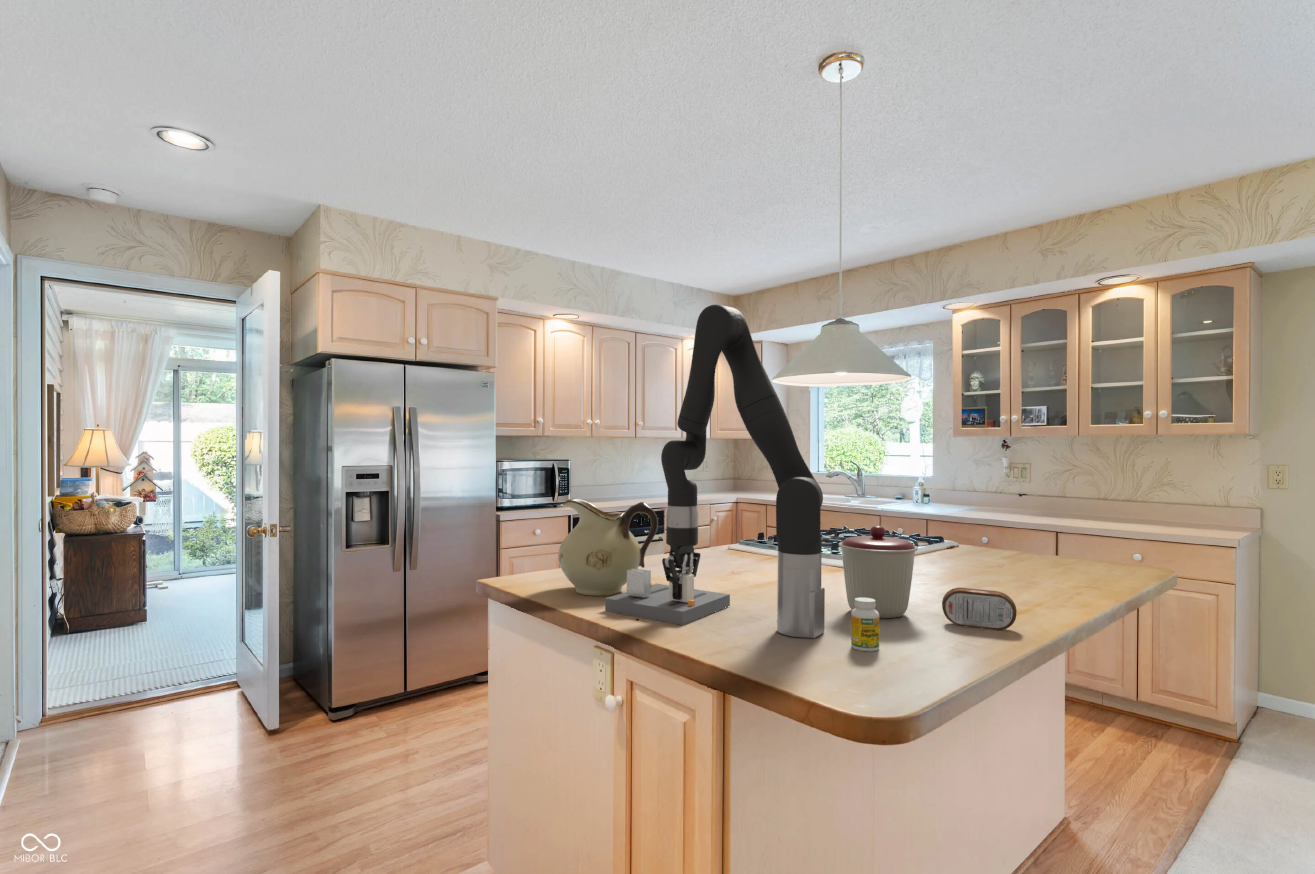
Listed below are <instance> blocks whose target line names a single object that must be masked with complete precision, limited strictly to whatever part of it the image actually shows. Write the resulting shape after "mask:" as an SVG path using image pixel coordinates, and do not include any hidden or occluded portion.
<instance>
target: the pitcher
mask: <svg viewBox="0 0 1315 874" xmlns="http://www.w3.org/2000/svg"><path fill="white" fill-rule="evenodd" d="M562 506H563V507H567V508H570V509H573V510H574V511H576V512H577V514H578V516H579V520H578V523H577V524H576V525H575V526H574V528H573V529H572V530H571V531H570V532H569V533H568V534H567V535H566V536H565V537H564V539H563V540H562V542H561V544H560V546H559V549H558V563H559V567H560V568H561V571H562V574H563V575H564V576H565V577H566V578H567V580H568V581H569V582H570V583H571V584H572V585H573V586H574V587H575V592H576V593H577V594H580V595H584V596H590V597H603V596H607V597H608V596H611V595H612V596H614V595H618V594H620V593H621V592H622V588H623V587H624V586H625V585H627V570H630V569H634V568H635V569H639V567H641V569H643V568H645V555H646V552H647V550H648V548H649V546H650V545H651V542H652V541H653V540H654V538H655V536H656V534H657V531H658V527H659V519H658V515H657V513H656V512H655V511H654V509H653V508H652V507H651V506H649V505H648V504H647V503H645V502H644V501H641V502H638V503H636V504H633V505H631V506H630V507H629V508H627V509H626V510H625V512H623V511H622V512H620V513H619V514H611V513H609V512H606V511H603V510H602V509H600V508H598V507H597V506H595V505H594V504H592V503H591V502H589V501H587V500H583V499H581V498H576V497H575V498H570V499H567V500H566V501H564V502H563V503H562ZM636 514H645V515H647V516H648V518H649V520H650V529H649V532H648V534H647V537H646V538H645V540H644V541H643V543H642V545H641V546H640V544H639V541H638V540H637V538H636V537H635V535H634V534H633V533H632V532H631V530H630V524H631V521H632V518H633V516H635V515H636Z"/></svg>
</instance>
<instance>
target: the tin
mask: <svg viewBox="0 0 1315 874" xmlns="http://www.w3.org/2000/svg"><path fill="white" fill-rule="evenodd" d="M941 608H942V611H943V614H944V616H945V617H946V619H947V621H949V622H950V623H952V624H954V625H956V626H959V627H964V626H967V627H968V628H973V627H974V628H973V629H975V628H976V629H981V628H983V629H984V630H990V629H991V630H992V631H1003V630H1007V629H1008V628H1010V627H1011V626H1013V624H1014V623H1015V621H1016V620H1017V619H1016V618H1017V606H1016V603H1015V602H1014V600H1013V599H1012V598H1011V597H1010V596H1009V595H1007V593H1004V592H1002V591H998V590H988V589H979V588H970V587H969V588H968V587H954V588H952V589H951V588H950V589H949V590H948V591H946V592H945V594H944V595H943V598H942V601H941ZM967 627H966V628H967ZM983 629H982V630H983Z"/></svg>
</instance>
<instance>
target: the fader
mask: <svg viewBox="0 0 1315 874" xmlns="http://www.w3.org/2000/svg"><path fill="white" fill-rule="evenodd" d="M670 576H671V574H670ZM677 577H678V573H677ZM681 584H682V599H681V600H676V599H673V596H672V593H673V592H672V583H671V582H670V581H668V585H669V600H675V601H681V602H688V600H694V589H695V577H694V575H693V574H685V573H684V574H683V578H682V583H681Z"/></svg>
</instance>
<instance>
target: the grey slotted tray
mask: <svg viewBox="0 0 1315 874" xmlns="http://www.w3.org/2000/svg"><path fill="white" fill-rule="evenodd" d="M604 604H605V605H604V606H605V610H604V611H605V612H608V613H615V614H616V613H617V614H620V615H625V616H630V617H631V616H632V617H637V618H641V617H642V618H643V619H646V620H647V619H648V620H652V619H653V620H654V621H658V622H663V621H666V622H665V623H668V622H670V623H669V624H674V623H675V624H674V625H679V624H680V626H684V624H685V625H688V624H689V623H692V622H694V621H697V620H699V618H700V619H702V618H705V617H707V616H710V615H712V614H714V613H713V612H715V611H717V612H719V610H720V611H722V610H724V609H723V608H725V607H727V608H729V607H728V606H730V607H731V594H729V593H722V592H716V591H710V590H704V589H696V588H694V600H688V602H681V601H675V600H669V584H662V583H654V584H653V583H652V582H651V596H647V597H644V598H642V597H636V596H630V595H627V591H626V592H623V593H618V594H614V595H612V596H609V597H608V596H607V597H605V603H604ZM721 609H722V610H721ZM725 609H726V608H725ZM711 613H712V614H711ZM715 613H716V612H715ZM709 614H710V615H709ZM704 616H705V617H704ZM642 618H641V619H642ZM687 623H688V624H687Z"/></svg>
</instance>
